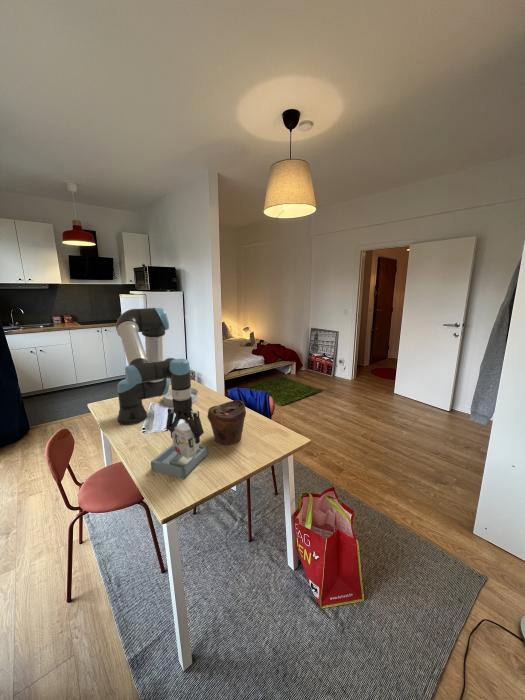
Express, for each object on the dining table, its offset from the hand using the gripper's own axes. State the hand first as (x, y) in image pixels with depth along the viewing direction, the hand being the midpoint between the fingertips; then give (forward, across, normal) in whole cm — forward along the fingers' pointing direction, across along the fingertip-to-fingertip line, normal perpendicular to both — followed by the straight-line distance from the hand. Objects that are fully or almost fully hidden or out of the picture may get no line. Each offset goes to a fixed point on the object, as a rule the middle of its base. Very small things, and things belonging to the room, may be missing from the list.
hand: (185, 447), depth 121 cm
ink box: (+3, 0, 0) cm, 3 cm away
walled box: (+8, -3, 0) cm, 8 cm away
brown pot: (+8, +7, +24) cm, 26 cm away
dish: (+8, -44, +57) cm, 72 cm away
